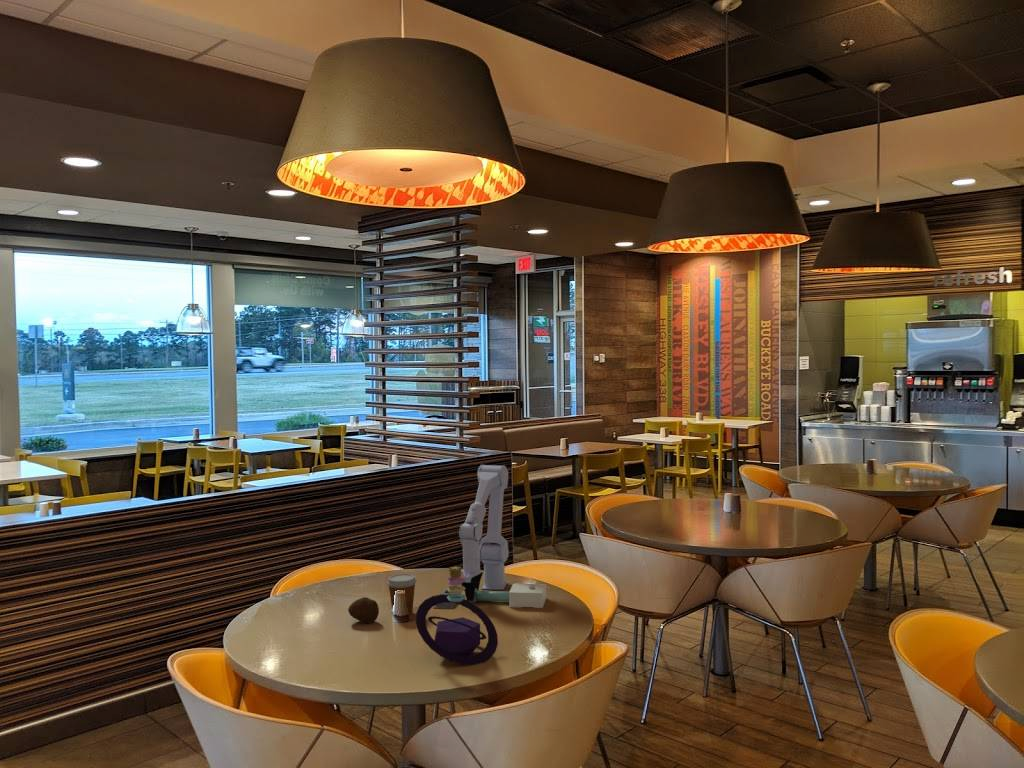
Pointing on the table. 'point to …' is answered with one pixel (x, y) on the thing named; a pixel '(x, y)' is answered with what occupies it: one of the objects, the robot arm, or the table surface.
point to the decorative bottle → (457, 627)
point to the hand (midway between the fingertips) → (472, 597)
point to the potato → (364, 610)
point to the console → (445, 605)
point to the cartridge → (490, 596)
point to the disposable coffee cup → (402, 588)
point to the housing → (527, 595)
